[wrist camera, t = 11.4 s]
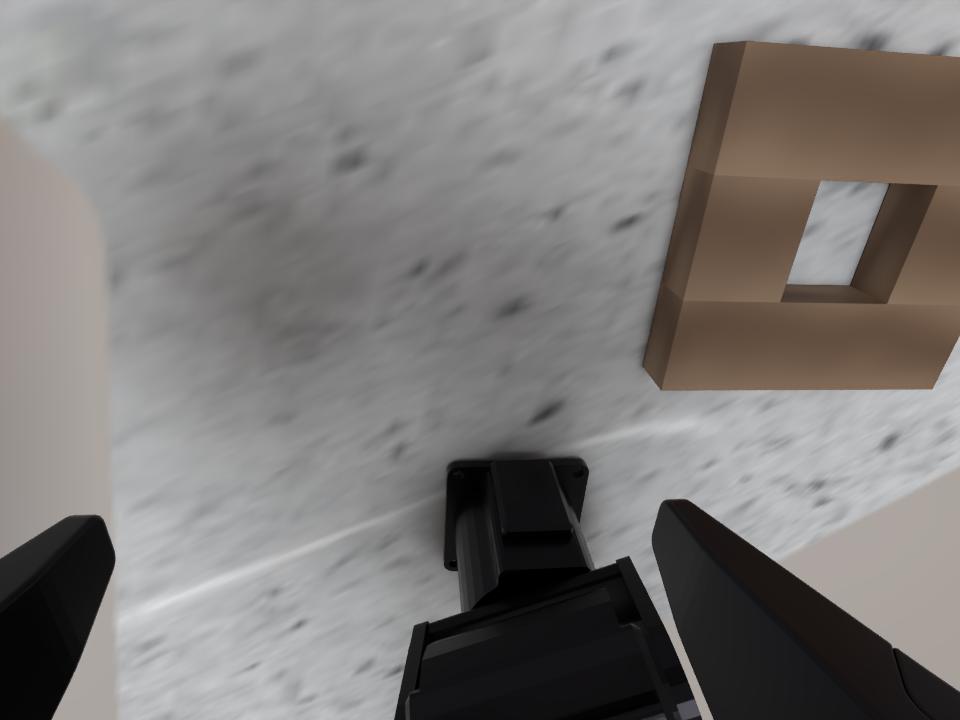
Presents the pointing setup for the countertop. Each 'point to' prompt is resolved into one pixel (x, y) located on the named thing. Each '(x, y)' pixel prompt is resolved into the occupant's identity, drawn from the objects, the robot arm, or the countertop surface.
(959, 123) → the plate
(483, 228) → the countertop surface
